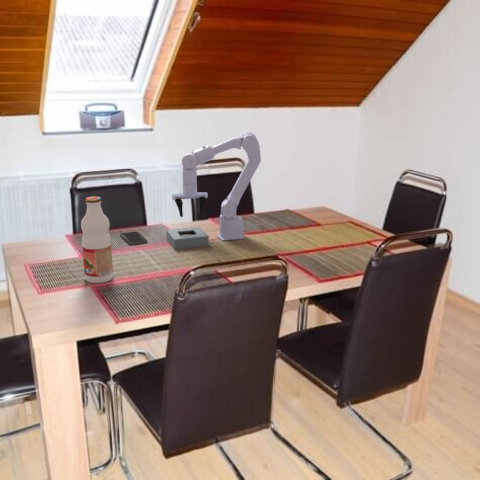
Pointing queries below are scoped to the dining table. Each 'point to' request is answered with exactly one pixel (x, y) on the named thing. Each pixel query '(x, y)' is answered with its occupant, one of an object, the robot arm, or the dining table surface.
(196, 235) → the box
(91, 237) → the fruit juice
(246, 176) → the robot arm
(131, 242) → the phone
